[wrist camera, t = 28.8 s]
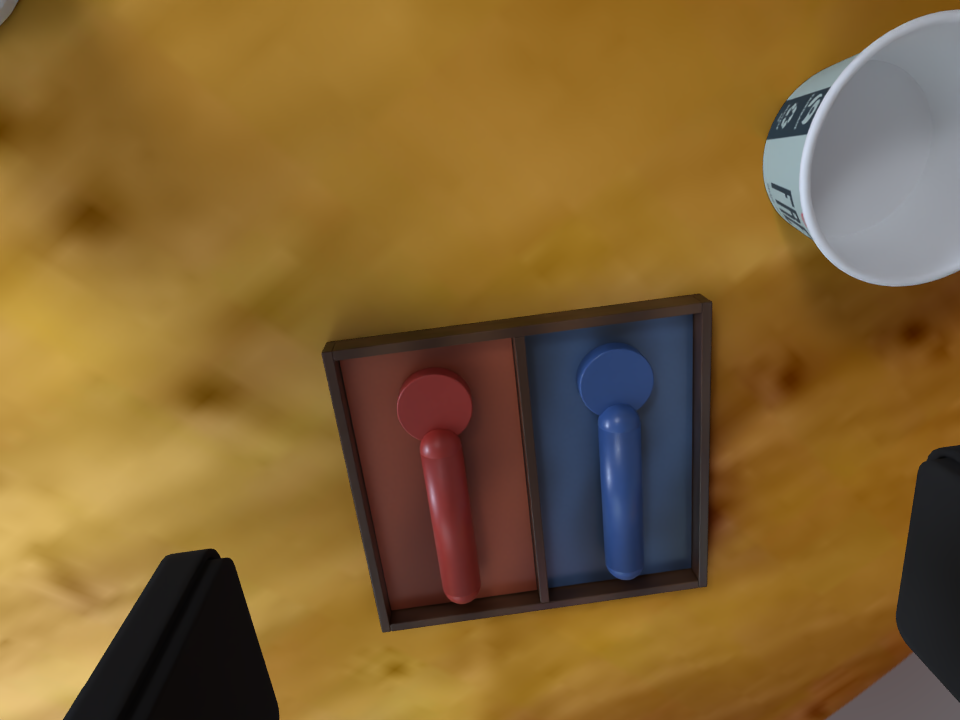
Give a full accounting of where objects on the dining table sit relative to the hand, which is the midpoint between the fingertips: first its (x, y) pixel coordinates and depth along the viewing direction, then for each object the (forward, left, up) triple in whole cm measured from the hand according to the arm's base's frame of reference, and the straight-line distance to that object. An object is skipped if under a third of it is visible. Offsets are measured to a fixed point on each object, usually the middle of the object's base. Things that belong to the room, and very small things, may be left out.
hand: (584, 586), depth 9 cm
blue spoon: (+7, -15, -28) cm, 32 cm away
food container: (+21, +2, -28) cm, 35 cm away
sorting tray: (+2, -15, -28) cm, 32 cm away
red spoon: (-3, -15, -28) cm, 32 cm away
